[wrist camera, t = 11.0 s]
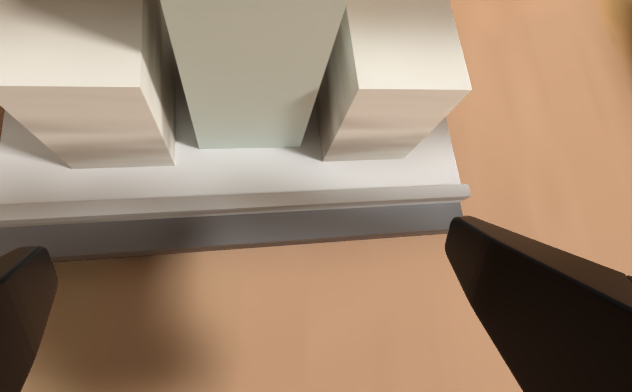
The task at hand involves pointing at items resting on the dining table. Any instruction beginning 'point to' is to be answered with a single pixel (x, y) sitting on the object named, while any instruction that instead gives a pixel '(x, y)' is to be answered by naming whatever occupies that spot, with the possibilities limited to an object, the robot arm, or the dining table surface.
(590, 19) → the dining table surface
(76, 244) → the rail board
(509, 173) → the dining table surface
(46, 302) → the robot arm
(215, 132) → the block
